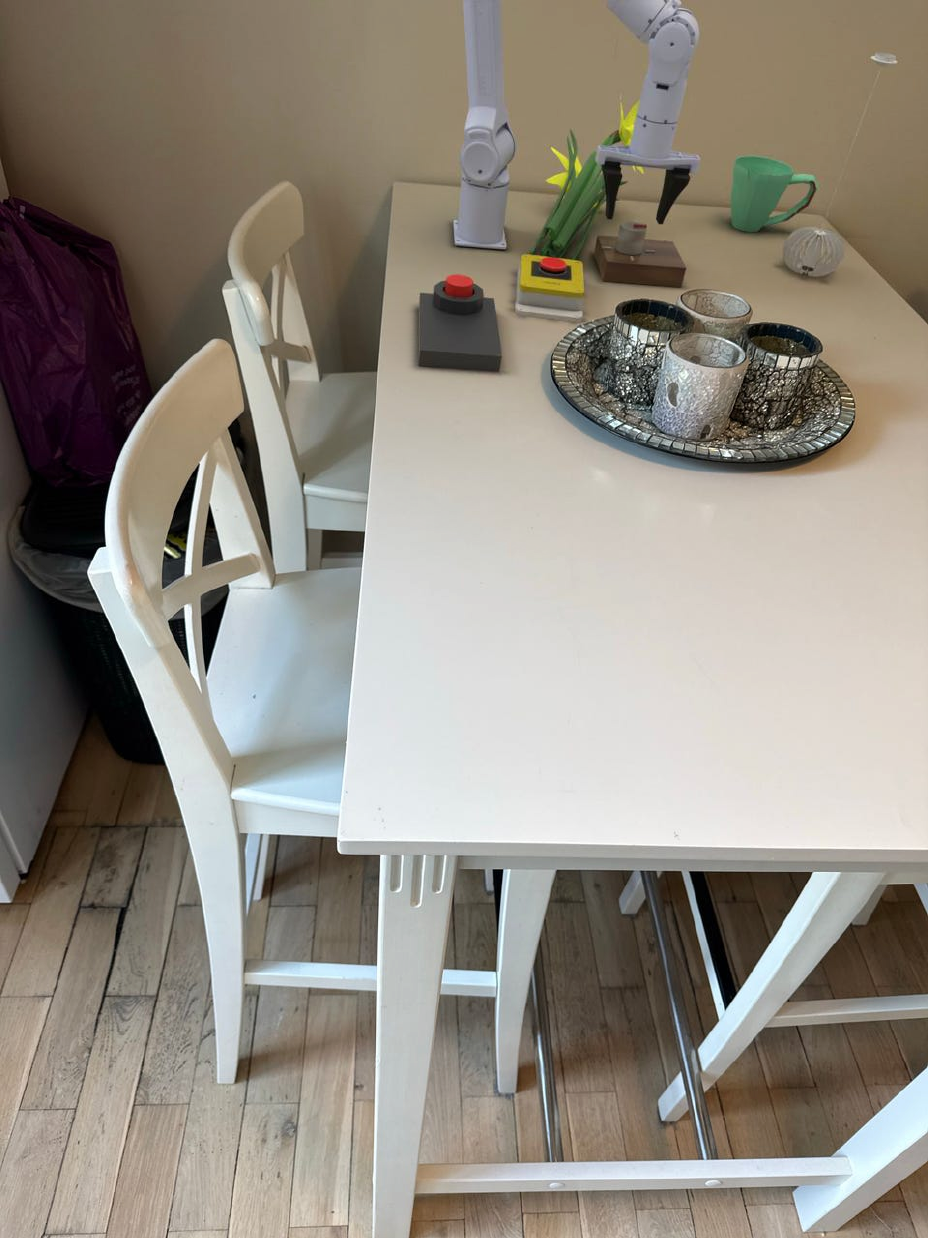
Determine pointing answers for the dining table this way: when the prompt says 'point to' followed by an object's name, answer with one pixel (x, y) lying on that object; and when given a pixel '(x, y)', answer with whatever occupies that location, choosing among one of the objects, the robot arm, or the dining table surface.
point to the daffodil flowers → (579, 193)
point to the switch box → (458, 331)
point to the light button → (459, 286)
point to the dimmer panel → (640, 263)
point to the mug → (763, 192)
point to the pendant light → (825, 235)
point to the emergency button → (550, 288)
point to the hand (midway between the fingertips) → (634, 219)
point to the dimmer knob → (631, 237)
